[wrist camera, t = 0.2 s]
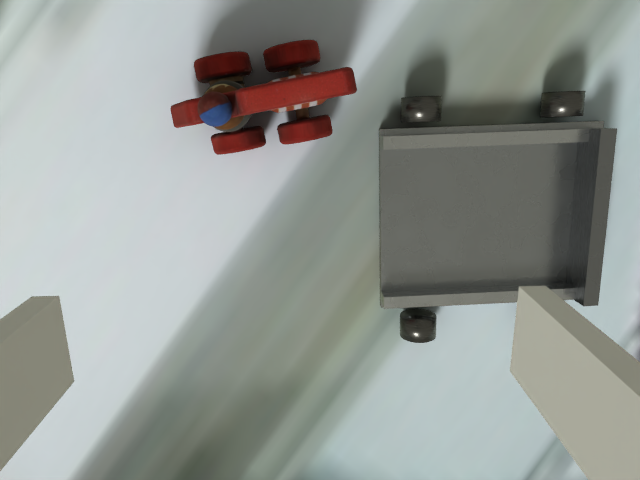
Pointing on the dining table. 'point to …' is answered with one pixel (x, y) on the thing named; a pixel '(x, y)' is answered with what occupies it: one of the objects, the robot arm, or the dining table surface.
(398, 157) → the chassis bay
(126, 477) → the dining table surface
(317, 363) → the dining table surface
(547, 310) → the robot arm
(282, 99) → the red plastic toy vehicle
